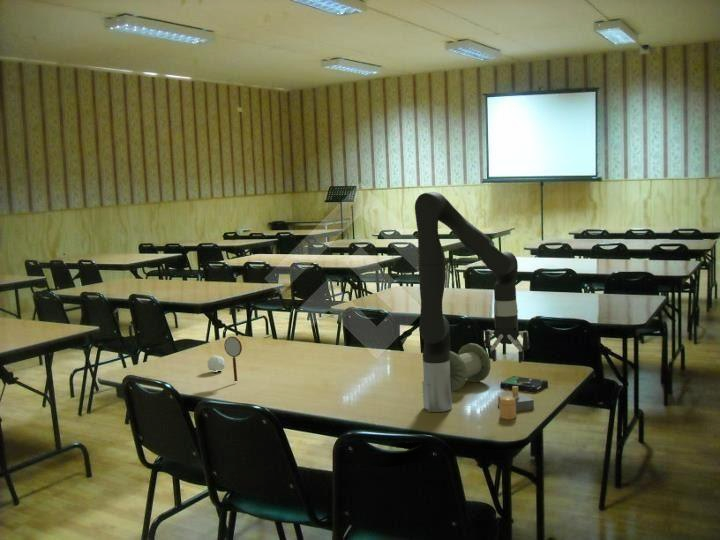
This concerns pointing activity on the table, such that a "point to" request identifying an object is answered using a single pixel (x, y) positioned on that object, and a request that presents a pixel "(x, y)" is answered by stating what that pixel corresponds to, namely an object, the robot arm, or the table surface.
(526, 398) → the grey piece
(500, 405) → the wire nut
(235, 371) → the magnifying glass
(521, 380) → the disk drive
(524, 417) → the table surface
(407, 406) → the table surface
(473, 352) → the spool
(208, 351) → the table surface
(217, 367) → the ball
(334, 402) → the table surface
